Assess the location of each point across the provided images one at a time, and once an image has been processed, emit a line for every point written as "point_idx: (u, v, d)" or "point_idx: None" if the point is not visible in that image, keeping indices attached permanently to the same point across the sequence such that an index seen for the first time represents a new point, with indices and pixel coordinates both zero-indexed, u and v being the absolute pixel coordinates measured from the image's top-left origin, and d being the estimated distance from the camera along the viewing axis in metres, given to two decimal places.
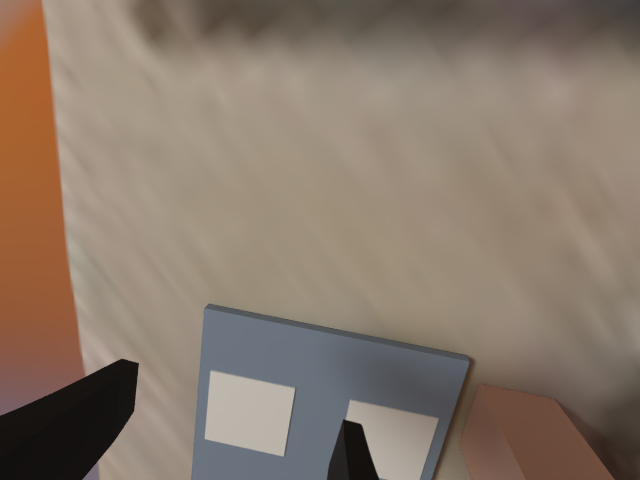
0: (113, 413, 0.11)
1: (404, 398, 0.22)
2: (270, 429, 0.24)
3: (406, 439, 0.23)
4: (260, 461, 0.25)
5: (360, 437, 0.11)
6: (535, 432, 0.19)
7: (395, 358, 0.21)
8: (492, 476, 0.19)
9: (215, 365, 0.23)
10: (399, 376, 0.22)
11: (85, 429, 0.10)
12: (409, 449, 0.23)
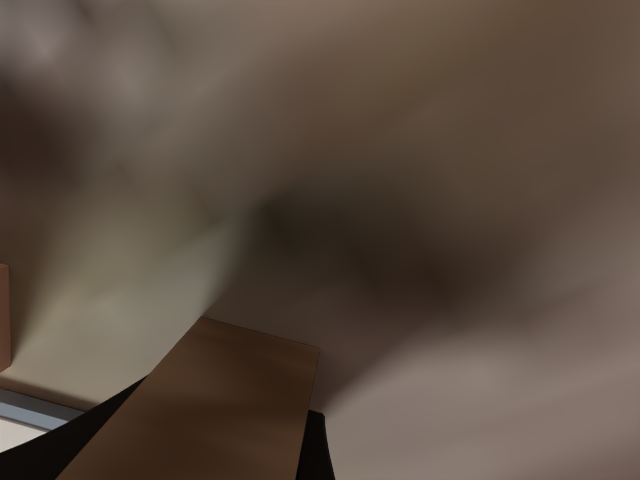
0: None
1: None
2: None
3: (0, 444, 0.15)
4: None
5: (319, 426, 0.11)
6: None
7: None
8: None
9: None
10: None
11: None
12: (12, 444, 0.15)
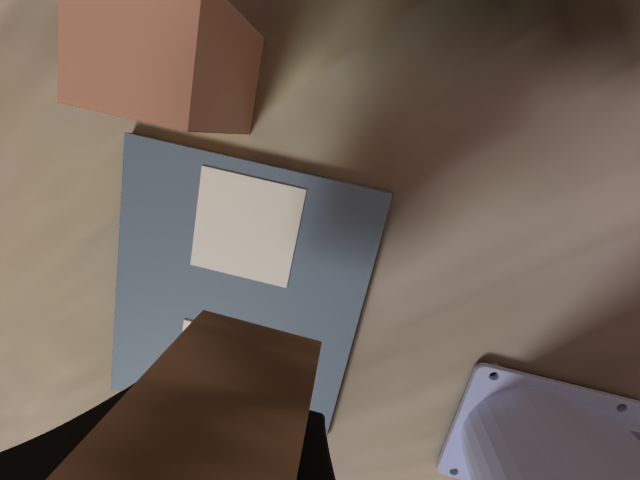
0: None
1: (181, 204, 0.19)
2: None
3: (237, 202, 0.19)
4: None
5: (319, 426, 0.11)
6: None
7: (133, 214, 0.20)
8: None
9: None
10: (154, 210, 0.19)
11: None
12: (250, 199, 0.19)
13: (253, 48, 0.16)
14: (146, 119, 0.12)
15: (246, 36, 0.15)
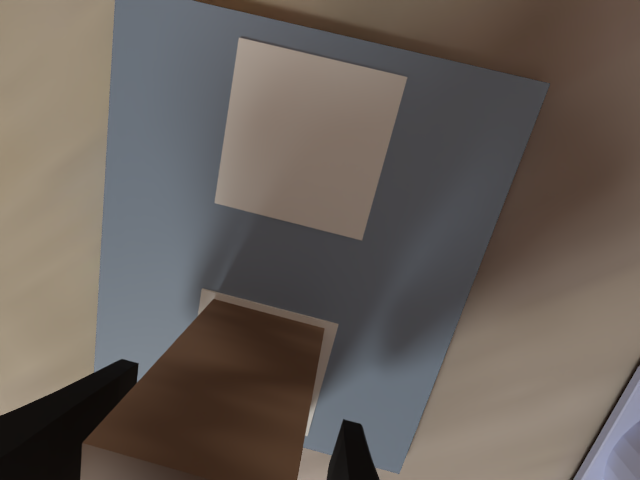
0: None
1: (204, 106, 0.12)
2: None
3: (293, 101, 0.12)
4: (352, 362, 0.14)
5: (360, 437, 0.11)
6: None
7: (129, 122, 0.13)
8: None
9: None
10: (161, 115, 0.13)
11: (85, 429, 0.10)
12: (314, 95, 0.12)
13: None
14: None
15: None
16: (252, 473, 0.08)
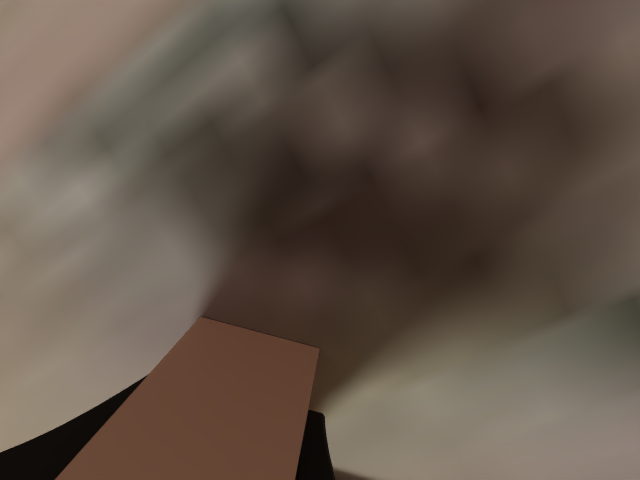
0: None
1: None
2: None
3: None
4: None
5: (319, 426, 0.11)
6: None
7: None
8: None
9: None
10: None
11: None
12: None
13: None
14: None
15: None
16: None
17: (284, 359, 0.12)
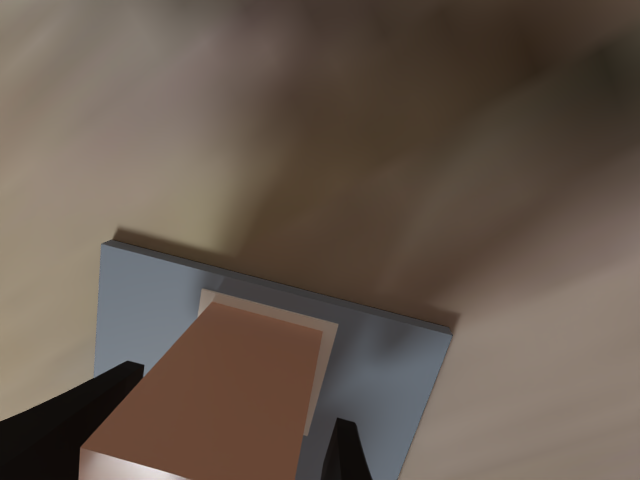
0: None
1: (175, 332, 0.15)
2: None
3: None
4: None
5: (353, 435, 0.11)
6: None
7: (113, 339, 0.15)
8: None
9: None
10: (140, 336, 0.15)
11: (92, 431, 0.10)
12: None
13: None
14: None
15: None
16: None
17: (290, 339, 0.13)
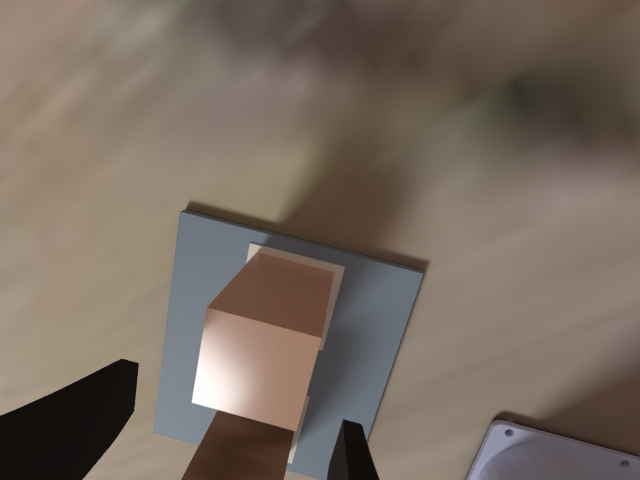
0: (113, 413, 0.11)
1: (229, 275, 0.21)
2: None
3: None
4: (319, 419, 0.23)
5: (360, 437, 0.11)
6: None
7: (184, 281, 0.22)
8: None
9: None
10: (204, 279, 0.21)
11: (85, 429, 0.10)
12: None
13: None
14: (263, 420, 0.15)
15: None
16: None
17: (313, 274, 0.19)
